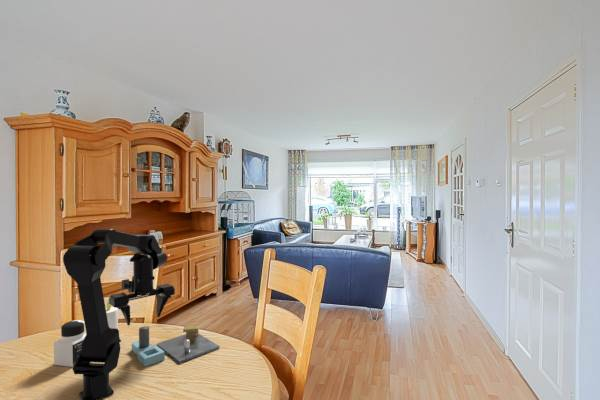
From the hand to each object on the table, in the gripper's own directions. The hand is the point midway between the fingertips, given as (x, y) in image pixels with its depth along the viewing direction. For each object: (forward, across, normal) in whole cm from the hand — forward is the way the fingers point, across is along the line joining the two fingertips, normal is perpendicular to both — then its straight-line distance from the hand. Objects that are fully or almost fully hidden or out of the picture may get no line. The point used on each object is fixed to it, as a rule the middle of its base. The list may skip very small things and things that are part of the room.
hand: (143, 321), depth 106 cm
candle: (+11, +5, -20) cm, 24 cm away
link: (+11, 0, +2) cm, 11 cm away
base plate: (+11, -12, +6) cm, 17 cm away
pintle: (+11, -10, +10) cm, 18 cm away
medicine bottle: (+11, +17, -12) cm, 23 cm away
